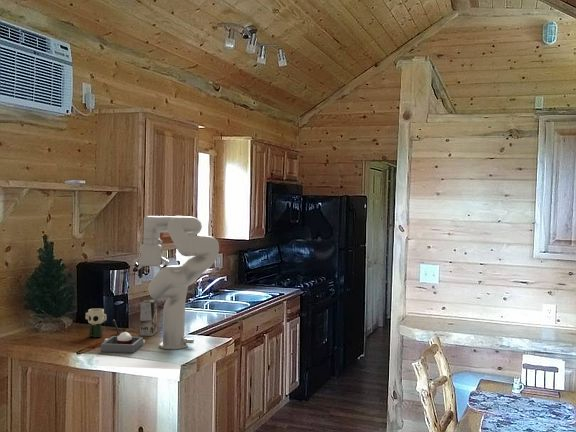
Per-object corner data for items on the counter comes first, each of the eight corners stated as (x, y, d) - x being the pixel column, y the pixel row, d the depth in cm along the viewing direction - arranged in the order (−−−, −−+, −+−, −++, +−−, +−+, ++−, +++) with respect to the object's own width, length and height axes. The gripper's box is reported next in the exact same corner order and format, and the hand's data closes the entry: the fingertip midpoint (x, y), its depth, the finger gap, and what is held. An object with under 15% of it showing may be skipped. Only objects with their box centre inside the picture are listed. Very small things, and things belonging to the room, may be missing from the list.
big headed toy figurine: (81, 337, 288) (81, 310, 288) (89, 334, 295) (89, 307, 295) (102, 339, 286) (102, 311, 285) (109, 336, 293) (110, 309, 292)
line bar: (144, 343, 281) (145, 340, 281) (143, 344, 279) (143, 341, 279) (106, 341, 282) (106, 338, 282) (104, 342, 280) (104, 339, 280)
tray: (143, 344, 278) (143, 337, 278) (133, 353, 263) (133, 345, 263) (112, 343, 278) (112, 336, 278) (100, 352, 263) (101, 343, 263)
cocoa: (136, 347, 272) (138, 320, 272) (128, 350, 266) (130, 323, 266) (118, 344, 275) (120, 317, 275) (109, 347, 269) (111, 319, 269)
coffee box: (152, 336, 295) (153, 302, 295) (139, 335, 295) (140, 302, 295) (157, 331, 304) (157, 299, 304) (144, 331, 305) (144, 299, 304)
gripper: (171, 242, 294) (170, 277, 295) (135, 241, 295) (135, 276, 296) (167, 243, 287) (166, 279, 287) (131, 242, 287) (130, 278, 288)
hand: (150, 278), depth 291 cm, fingers open, 9 cm apart
